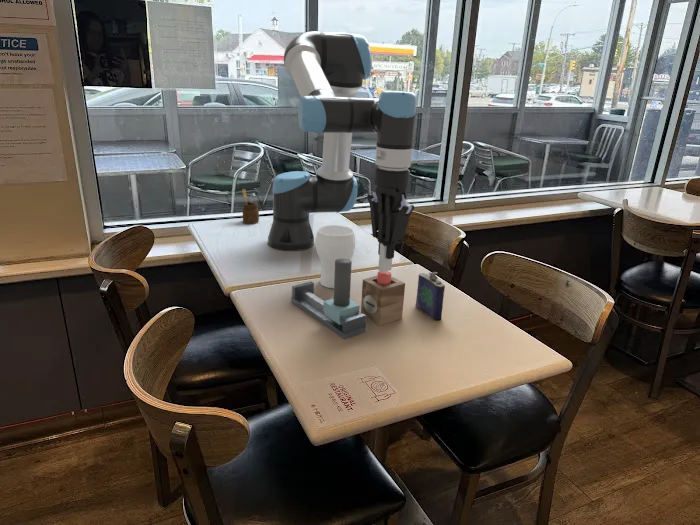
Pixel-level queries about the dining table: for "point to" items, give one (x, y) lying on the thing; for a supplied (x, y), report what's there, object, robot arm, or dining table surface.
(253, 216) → the utensil holder
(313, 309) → the rail track
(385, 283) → the button
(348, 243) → the cup
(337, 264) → the carriage
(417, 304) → the flask
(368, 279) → the open wooden box
